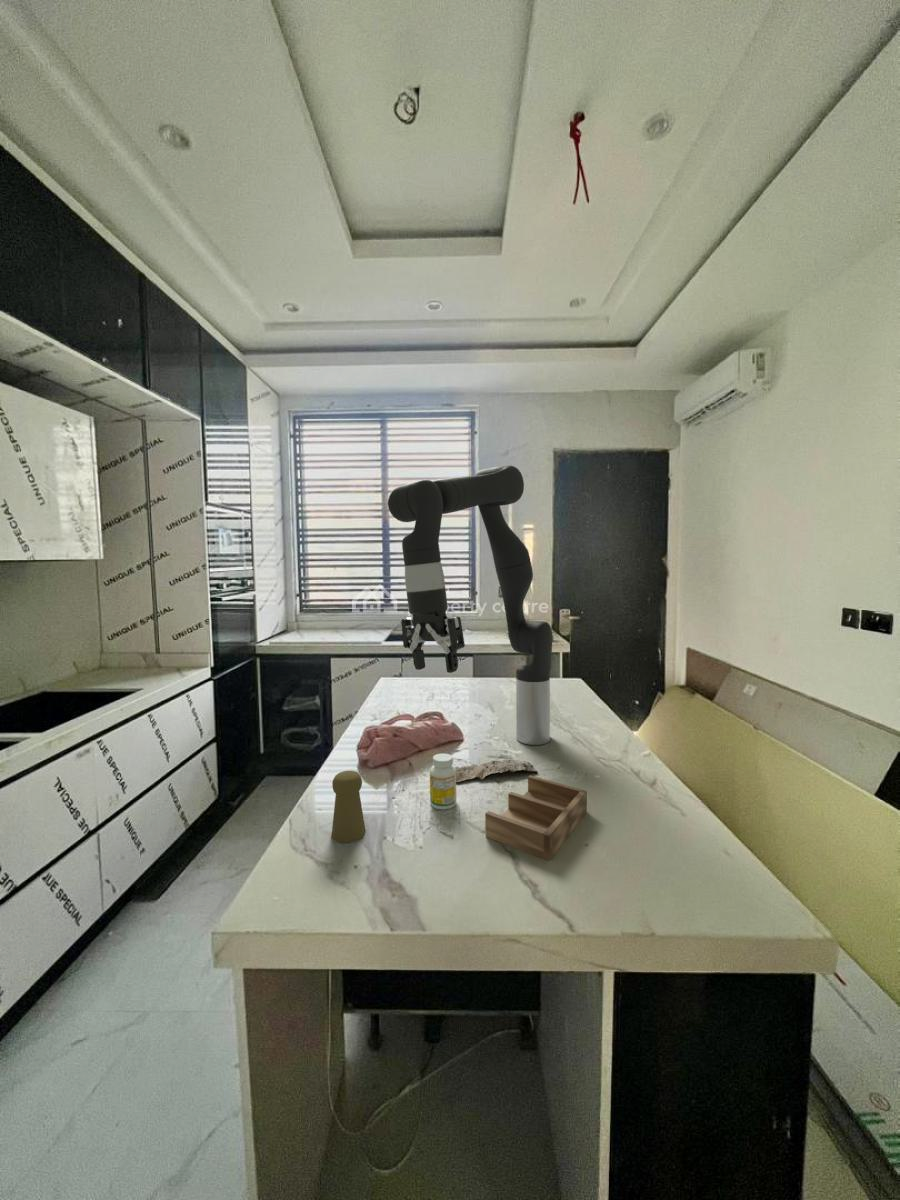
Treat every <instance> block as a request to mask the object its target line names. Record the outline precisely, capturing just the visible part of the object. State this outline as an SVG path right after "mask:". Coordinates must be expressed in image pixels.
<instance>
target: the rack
mask: <svg viewBox="0 0 900 1200" xmlns="http://www.w3.org/2000/svg"><path fill="white" fill-rule="evenodd" d="M507 797H508V805H507V806H508V809H507V810H506V811H504V812H503V813H502V814H499V813H495V812H493V811H489V810H488V811H486V812H485V815H484V816H485V817H484V820H485V826H484V827H485V829H484V830H485V837H486V838H489V839H491V840H495V841H497V842H499V843H502V844H503V845H506V846H509V847H512V848H515V849H516V850H517V849H518V850H520V851H523V852H525V853H528V854H531V855H533V856H535V857H538V858H540V859H544V860H545V859H546V861H548V862H550V861H551V859H552V858H553V856H554V855H555V854H556V853H557V852H558V850H559V849H560V848H561V847H562V845H563V844H564V843H565V842H566V840H567V839H568V837H569V836H570V835H571V833H572V832H573V830H574V829H575V828H576V827H577V826H578V824H579V823H580V822H581V820H582V819H583V818H584V816H585V815H586V813H587V812H588V790H586V789H582V788H578V787H575V786H572V785H571V786H570V785H567V784H564V783H559V782H557V781H553V780H548V779H545V778H541V777H538V776H536V775H535V776H534V775H530V774H529V776H527V792H525V793H524V794H520V793H516V792H513V791H509V793H508V796H507Z"/></svg>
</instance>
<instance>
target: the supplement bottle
mask: <svg viewBox="0 0 900 1200" xmlns="http://www.w3.org/2000/svg"><path fill="white" fill-rule="evenodd" d="M453 758H454V756H453V755H451V754H449V753H436V754H434V755H433V756H432V764H433V765H432V766H431V767H430V769H429V799H430V801H429V802H430V804H431V807H433V808H434V809H437V810H450V809H452V808H454V807H455V806H456V804H457V782H456V769H455V765H453V764H454V759H453Z"/></svg>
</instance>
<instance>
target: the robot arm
mask: <svg viewBox="0 0 900 1200" xmlns="http://www.w3.org/2000/svg"><path fill="white" fill-rule="evenodd" d="M524 482H525V481H524V478H523V475H522V472H521V471H520V470H519V469H518V467H516V466H515V465H512V464H511V465H507V464H506V465H505V464H504V465H500V466H495V467H490V468H483V469H481V470H478V471H477V472H476V473H475V475H469V476H468V475H465V476H455V477H453V476H452V477H445V478H439V479H435V480H430V479H420V480H417V481H413V482H409V483H406V484H402V485H399V486H397V487H395V488H394V489H393V490H392V491H391V493H390V494H389V497H388V500H387V507H388V511H389V513H390V515H392V517H393V518H395V519H396V520H397V521H400V522H402V523H412V522H414V528H413V530H412V532H410V533H409V534H407V535H405V536H404V537H403V539H402V541H401V548H402V556H403V563H404V582H405V583H404V584H405V591H406V599H407V606H408V612H409V615H411V616H410V617H405V618H402V619H401V621H400V622H401V623H400V624H401V633H402V644H403V645H402V646H403V647H404V648H405V649H409V650H410V652H412V660H413V666H414V669H415V670H417V671H420V670H423V669H425V668H426V662H425V661H426V660H425V652H424V649H423V647H424V645H425V642H426V641H427V640H428V641H431V642H436V643H437V645H439V646H440V647H441V648H442V650H443V651H444V659H445V668H446V672H447V673H449V674H452V673H455V672H456V671H457V670H458V669H459V663H458V653H457V652H458V651H459V650H461V649H464V648H465V645H466V644H465V637H464V632H463V626H462V620H461V617H460V616H459V615H458V616H453V617H448V616H447V613H446V612H447V610H448V599H447V598H448V597H447V592H446V591H447V590H446V589H447V588H446V582H445V576H444V575H445V574H444V571H443V570H444V569H443V565H442V560H441V551H440V545H439V542H440V541H439V539H440V533H441V526H442V518H443V515H446V514H451V513H455V512H459V511H463V510H466V509H470V508H474V507H477V506H478V509H479V512H480V515H481V518H482V520H483V521H482V522H483V524H484V528H485V531H486V534H487V538H488V542H489V545H490V549H491V553H492V558H493V563H494V568H495V572H496V576H497V580H498V584H499V587H500V588H499V589H500V592H501V596H502V597H501V598H502V600H503V606H504V610H505V612H504V613H505V618H506V619H505V620H506V626H507V627H506V628H507V633H508V638H509V639H508V640H509V644H510V646H511V648H512V649H513V651H514V652H516V653H518V654H528V655H532V661H531V662H530V663H527V664H523V665H519V666H518V667H517V668H516V670H515V701H516V702H515V703H516V705H515V709H516V711H515V712H516V713H515V716H516V717H515V718H516V719H515V720H516V725H515V726H516V727H515V728H516V729H515V730H516V731H515V732H516V736H515V737H516V738H515V739H516V740H517V741H518V742H520V743H522V744H525V745H531V746H541V745H545V744H548V743H549V742H550V741H551V688H550V687H551V678H550V677H551V671H552V670H551V669H552V658H553V657H552V653H553V630H552V627H551V625H550V624H549V622H547V621H544V620H543V621H542V620H527V619H526V618H525V613H524V601H525V600H526V596H527V594H528V592H529V590H530V587H531V584H532V581H533V577H534V573H533V566H532V562H531V561H532V560H531V557H530V553H529V550H528V548H527V546H526V545H525V544H524V542H522V540H521V538H519V537H518V536H517V535H516V534H515V532H514V531H513V529H511V528H510V526H509V525H508V523H507V522H506V520H505V518H504V515H503V512H502V508H501V506H509V505H513V504H514V503H517V502H518V501H519V500H520V499H521V498H522V496H523V493H524V489H525V483H524Z"/></svg>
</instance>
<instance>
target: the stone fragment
mask: <svg viewBox="0 0 900 1200" xmlns="http://www.w3.org/2000/svg"><path fill="white" fill-rule="evenodd" d="M454 767H455V766H454ZM455 769H456V783H459V782H462V781H466V780H472V779H475V778H478V779H480V780H483V779H484V778H485V777H486V776H489V775H491V774H496V773H497V774H498V773H500V774H501V773H504V772H508V771H509V772H513V773H514V772H516V771H522V770H523V771H527V772H536V774H539V772H538V771H537V770H536V769H535V768H534V765H533V764H532V763H530V762H528V761H526V760H522V761H516V760H514V759H513V758H511V759H504V760H491V761H490V762H487V763H482V764H479V765H477V764H473V765H466V766H464V765H463V766H461V767H459V766H456V767H455Z"/></svg>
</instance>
